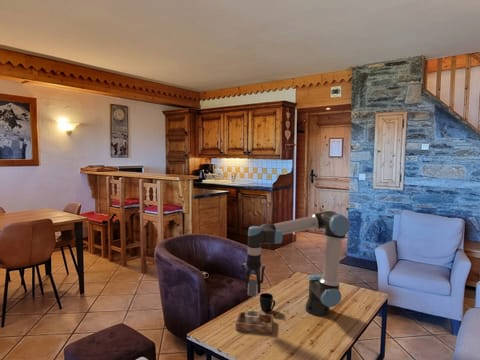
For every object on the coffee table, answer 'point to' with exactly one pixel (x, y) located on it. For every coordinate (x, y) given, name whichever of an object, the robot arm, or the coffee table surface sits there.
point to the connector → (252, 285)
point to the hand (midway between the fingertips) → (252, 294)
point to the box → (254, 322)
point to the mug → (266, 302)
